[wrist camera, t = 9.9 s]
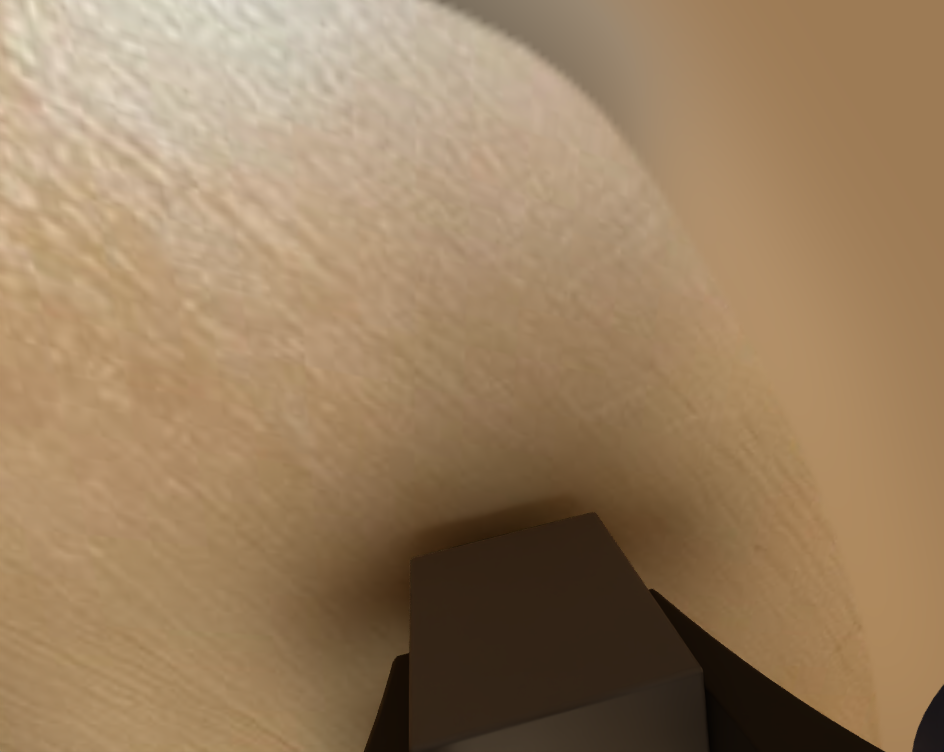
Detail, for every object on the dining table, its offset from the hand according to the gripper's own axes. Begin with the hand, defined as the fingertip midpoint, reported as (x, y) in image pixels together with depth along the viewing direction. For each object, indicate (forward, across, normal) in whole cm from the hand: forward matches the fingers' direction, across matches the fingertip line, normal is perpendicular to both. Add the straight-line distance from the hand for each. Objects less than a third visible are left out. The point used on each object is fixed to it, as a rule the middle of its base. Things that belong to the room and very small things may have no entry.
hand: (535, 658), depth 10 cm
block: (+1, 0, 0) cm, 1 cm away
